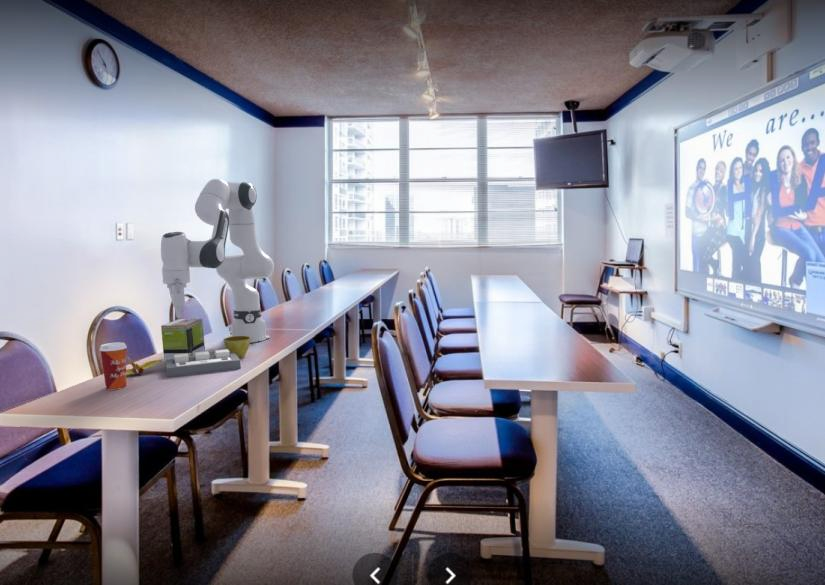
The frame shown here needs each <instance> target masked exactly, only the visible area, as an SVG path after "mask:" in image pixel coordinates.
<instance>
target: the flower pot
mask: <svg viewBox="0 0 825 585" xmlns="http://www.w3.org/2000/svg"><path fill="white" fill-rule="evenodd" d="M223 344H224V346H225V347H224V348H225V349H228V350H229V352H230V353H234V352H235V353H236V355H237V356H238V358H242V357H241V356H243V357H245V356H244V355H246V353H247V352H248V351H249V348H250V337H248V336H234V337H229V336H228V337H224V338H223Z"/></svg>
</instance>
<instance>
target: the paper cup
mask: <svg viewBox="0 0 825 585" xmlns="http://www.w3.org/2000/svg"><path fill="white" fill-rule="evenodd" d="M127 348H128V346H127V345H126V343H125V342H121V341H118V342H108V343H103V344H101V345H100V348H99V350H98V351H100V357H101V362H102V370H103V376H104V383H105V387H106V390H107V389H117V390H120V389H119V388H122V389H124V388H123V387H125V386H126V387H127V374H126V370H127ZM126 387H125V388H126Z"/></svg>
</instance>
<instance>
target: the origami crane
mask: <svg viewBox="0 0 825 585" xmlns="http://www.w3.org/2000/svg"><path fill="white" fill-rule="evenodd" d="M126 360H128V363H129V364H130V365H131V367H132V368H128V369H127V368H126V375H131V374H137V373H138V375H137V376H142V375H143V374H144V371H145V370H148V369H149V368H151V367H152V366H155V365H156V364H158V363H160V362H162V361H164V358H163V359H161V358H160V359H154V360H150V361H147V362H145V363H142V364H138V363H135V362H134V361H133V360H132V359H131V357H129V356H128V355H126ZM136 372H137V373H136ZM141 374H142V375H141Z"/></svg>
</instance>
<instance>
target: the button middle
mask: <svg viewBox="0 0 825 585" xmlns="http://www.w3.org/2000/svg"><path fill="white" fill-rule="evenodd" d="M209 355H210V352H209V351H208V350H207V351H206V350H205V352H196V353H195V361H199V360H208V359H210V356H209Z"/></svg>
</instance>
